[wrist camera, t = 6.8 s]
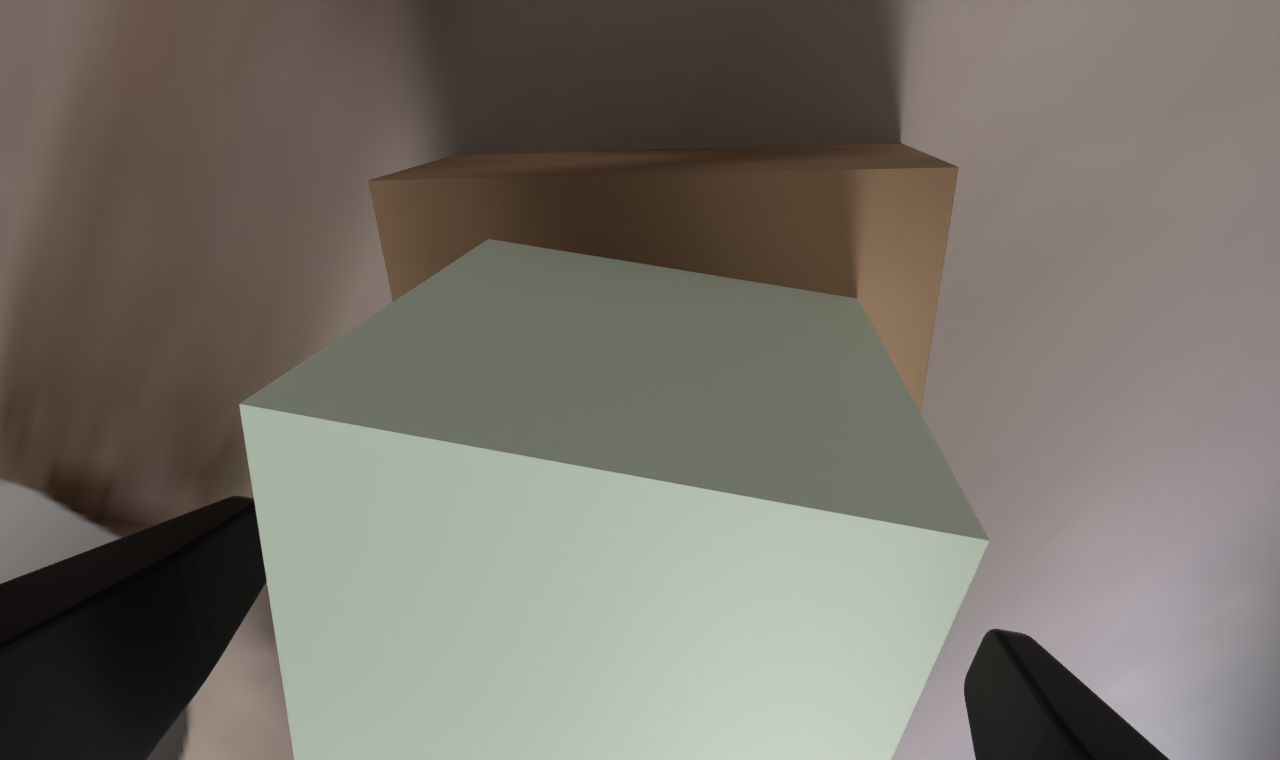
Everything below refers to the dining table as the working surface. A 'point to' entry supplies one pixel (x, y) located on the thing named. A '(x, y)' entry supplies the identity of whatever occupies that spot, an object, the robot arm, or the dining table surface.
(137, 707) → the robot arm
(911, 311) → the brown flat block
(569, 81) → the dining table surface
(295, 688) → the sage cube
